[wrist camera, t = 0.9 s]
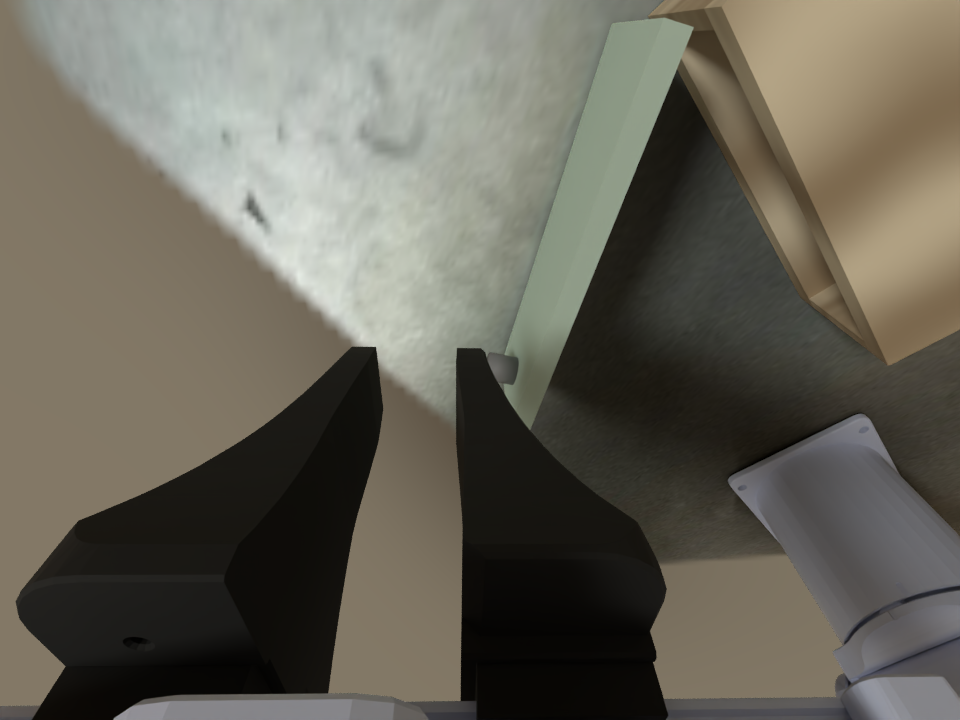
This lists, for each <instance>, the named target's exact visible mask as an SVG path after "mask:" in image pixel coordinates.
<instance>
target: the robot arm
mask: <svg viewBox="0 0 960 720" xmlns="http://www.w3.org/2000/svg"><path fill="white" fill-rule="evenodd" d="M382 414H383V403H382V395H381V387H380V377H379V368H378V360H377V351H376V347H351V348H350V349H349V350H348V351H347V352H346V353H345V354H344V355H343V356H342V357H341V358H340V359H339V360H338V361H337V362H336V363H335V364H334V365H333V366H332V367H331V368H330V369H329V370H328V371H327V372H326V373H325V374H324V375H323V376H322V377H321V378H319V379H318V380H317V381H316V382H315V383H314V384H313V385H312V386H311V387H310V388H309V389H308V390H307V391H306V392H304V394H302V395H301V396H300V397H299V398H297V400H295V401H294V402H293V403H292V404H290V405H289V406H288V407H287V408H286V409H284V410H283V411H282V412H281V413H280V414H278V415H277V416H276V417H274V418H273V419H272V420H270V421H269V422H268V423H266V424H265V425H264V426H262V427H261V428H259V429H258V430H257V431H255V432H254V433H252V434H251V435H249V436H248V437H246V438H245V439H243V440H242V441H240V442H239V443H237V444H235V445H234V446H232V447H230V448H229V449H227V450H225V451H224V452H222V453H220V454H219V455H217V456H215V457H213V458H212V459H210V460H208V461H207V462H205V463H203V464H202V465H200V466H198V467H196V468H194V469H193V470H190V471H189V472H187V473H185V474H183V475H181V476H179V477H177V478H175V479H173V480H171V481H169V482H167V483H165V484H163V485H161V486H159V487H157V488H155V489H152V490H150V491H148V492H146V493H144V494H141V495H139V496H137V497H135V498H133V499H130V500H128V501H125V502H123V503H120V504H118V505H116V506H113V507H111V508H108V509H106V510H104V511H101V512H99V513H97V514H94V515H92V516H89V517H87V518H84V519H82V520H79V521H78V522H77V523H76V524H75V525H74V527H73V528H72V529H71V530H70V531H69V533H68V534H67V535H66V536H65V538H64V539H63V540H62V541H61V543H60V544H59V545H58V546H57V547H56V549H55V550H54V551H53V552H52V553H51V555H50V556H49V557H48V558H47V560H46V561H45V562H44V563H43V565H42V566H41V567H40V568H39V569H38V571H37V572H36V573H35V574H34V576H33V577H32V578H31V579H30V581H29V582H28V583H27V584H26V585H25V587H24V588H23V589H22V590H21V592H20V594H19V596H18V598H17V600H16V605H17V610H18V615H19V618H20V620H21V621H22V623H23V624H24V625H25V626H26V628H27V629H28V630H29V631H30V632H31V633H32V634H33V635H34V636H35V637H36V638H37V639H38V640H39V641H40V642H41V643H42V644H43V645H44V646H45V647H46V648H47V649H48V650H50V652H51V653H53V654H54V655H55V656H56V657H57V658H58V659H59V660H60V661H61V662H62V663H63V664H64V665H65V666H66V667H65V669H64V670H63V672H62V673H61V675H60V676H59V678H58V679H57V681H56V682H55V684H54V686H53V687H52V689H51V690H50V692H49V693H48V695H47V697H46V698H45V700H44V701H43V703H42V704H41V706H0V720H960V536H959V535H958V534H957V533H956V532H955V530H954V529H953V528H952V527H951V526H950V525H949V524H948V523H947V522H946V521H945V520H944V519H943V518H942V517H941V516H940V515H939V514H938V513H937V512H936V511H935V510H934V509H933V508H932V507H931V506H930V505H929V504H928V503H927V502H926V501H925V500H924V499H923V498H922V497H921V496H920V495H919V494H918V493H917V492H916V491H915V490H914V489H913V488H912V487H911V486H910V485H909V484H908V483H907V482H906V481H905V480H904V479H903V478H902V477H901V476H900V474H899V472H898V471H897V469H896V467H895V465H894V463H893V461H892V459H891V458H890V456H889V454H888V452H887V450H886V448H885V446H884V445H883V443H882V441H881V439H880V437H879V435H878V433H877V431H876V430H875V428H874V426H873V424H872V422H871V420H870V419H869V418H868V417H867V416H866V415H865V414H856V415H854V416H851V417H849V418H847V419H845V420H843V421H841V422H839V423H837V424H835V425H833V426H831V427H829V428H827V429H825V430H823V431H821V432H819V433H817V434H815V435H813V436H811V437H809V438H807V439H805V440H803V441H801V442H799V443H796V444H794V445H792V446H790V447H788V448H786V449H784V450H782V451H780V452H778V453H776V454H774V455H772V456H770V457H768V458H766V459H764V460H762V461H760V462H758V463H756V464H754V465H752V466H750V467H748V468H746V469H744V470H741V471H739V472H737V473H735V474H733V475H732V476H730V477H729V479H728V483H729V485H730V487H731V488H732V489H733V490H734V491H735V492H736V494H737V495H738V496H739V497H740V498H741V499H742V500H743V502H744V503H745V504H746V505H747V506H748V507H749V509H750V510H751V511H752V512H753V513H754V514H755V515H756V517H757V518H758V519H759V520H760V521H761V522H762V524H763V525H764V526H765V527H766V528H767V529H768V530H769V532H770V533H771V534H772V535H773V536H774V537H775V539H776V540H777V541H778V542H779V543H780V544H781V546H782V547H783V549H784V551H785V552H786V554H787V556H788V557H789V559H790V560H791V562H792V563H793V565H794V567H795V569H796V570H797V572H798V573H799V575H800V577H801V578H802V580H803V582H804V583H805V585H806V586H807V588H808V590H809V591H810V593H811V594H812V596H813V598H814V599H815V601H816V602H817V604H818V606H819V607H820V609H821V611H822V612H823V614H824V615H825V617H826V619H827V620H828V622H829V623H830V625H831V627H832V629H833V630H834V632H835V633H836V635H837V637H838V638H839V640H840V642H841V643H842V645H843V646H842V647H840V648H838V649H836V650H834V651H833V655H834V656H835V658H836V660H837V661H838V663H839V665H840V666H841V668H842V670H843V671H844V673H843V674H841V675H839V676H838V677H837V679H836V683H835V692H836V697H823V698H822V697H819V698H818V697H814V698H729V699H727V698H720V699H664V698H663V695H662V692H661V688H660V685H659V682H658V678H657V675H656V672H655V668H654V664H653V662H654V661H655V660H656V650H655V646H654V643H653V640H652V637H651V634H650V630H651V628H652V625H653V623H654V621H655V619H656V617H657V615H658V613H659V611H660V608H661V606H662V604H663V602H664V599H665V594H666V585H665V582H664V578H663V576H662V572H661V569H660V566H659V564H658V561H657V559H656V557H655V555H654V553H653V551H652V549H651V547H650V545H649V543H648V541H647V539H646V537H645V535H644V533H643V532H642V530H641V528H640V526H639V524H638V523H637V522H636V521H635V520H634V519H632V518H631V517H629V516H628V515H626V514H625V513H623V512H622V511H620V510H619V509H617V508H616V507H614V506H613V505H612V504H610V503H609V502H607V501H606V500H604V499H603V498H601V497H600V496H598V495H597V494H596V493H595V492H593V491H592V490H591V489H589V488H588V487H587V486H586V485H584V484H583V483H582V482H581V481H579V480H578V479H577V478H576V477H575V476H574V475H573V474H572V473H571V472H570V471H568V470H567V469H566V468H565V467H564V466H563V465H562V464H561V463H560V462H559V461H557V460H556V459H555V458H554V457H553V456H552V454H551V453H550V452H549V451H548V450H547V449H546V448H545V447H544V446H543V445H542V444H541V443H540V442H539V440H538V439H537V438H536V437H535V436H534V435H533V433H532V432H531V431H530V430H529V428H528V427H527V426H526V425H525V423H524V422H523V421H522V419H521V418H520V417H519V415H518V414H517V412H516V411H515V410H514V408H513V407H512V405H511V404H510V402H509V400H508V399H507V397H506V396H505V394H504V392H503V390H502V389H501V387H500V385H499V384H498V382H497V380H496V378H495V376H494V374H493V372H492V370H491V368H490V365H489V363H488V361H487V358H486V354H485V352H484V351H483V350H482V349H481V348H457V358H456V445H457V458H458V470H459V483H460V495H461V507H462V521H463V522H462V523H463V548H462V549H463V550H462V632H461V701H436V702H435V701H434V702H404V701H401V700H399V699H396V698H394V697H388V696H378V695H368V694H358V693H339V694H338V693H335V694H334V693H329V694H328V690H329V682H330V675H331V667H332V660H333V652H334V646H335V639H336V632H337V626H338V619H339V612H340V606H341V599H342V593H343V587H344V581H345V574H346V569H347V563H348V557H349V552H350V546H351V541H352V535H353V531H354V527H355V523H356V518H357V515H358V511H359V508H360V504H361V500H362V497H363V494H364V490H365V487H366V484H367V480H368V477H369V473H370V470H371V466H372V463H373V459H374V456H375V452H376V449H377V445H378V440H379V434H380V428H381V421H382Z"/></svg>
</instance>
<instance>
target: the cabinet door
mask: <svg viewBox="0 0 960 720" xmlns="http://www.w3.org/2000/svg"><path fill="white" fill-rule="evenodd" d="M693 28H694V27H692V26H689V25H686V24H683V23H679V22H676V21H673V20H670V19H667V18H656V19H647V20H638V21H629V22H620V23H612V25H611V28H610V32H609V35H608V38H607V41H606V44H605V47H604V50H603V53H602V56H601V59H600V62H599V65H598V68H597V71H596V75H595V78H594V81H593V84H592V87H591V90H590V93H589V96H588V99H587V102H586V105H585V108H584V111H583V115H582V118H581V121H580V124H579V127H578V130H577V133H576V136H575V139H574V142H573V145H572V148H571V151H570V154H569V158H568V161H567V164H566V167H565V170H564V173H563V176H562V179H561V182H560V185H559V188H558V191H557V194H556V197H555V201H554V204H553V207H552V210H551V213H550V216H549V219H548V222H547V225H546V228H545V231H544V234H543V237H542V240H541V244H540V247H539V250H538V253H537V256H536V259H535V262H534V265H533V268H532V271H531V274H530V277H529V280H528V283H527V287H526V290H525V293H524V296H523V299H522V302H521V305H520V308H519V311H518V314H517V317H516V320H515V323H514V326H513V330H512V333H511V336H510V339H509V342H508V345H507V348H506V351H505V354H504V355H502V354H497V353H491V352H489V354H488V356H487V361H488V363H489V365H490V368H491V370H492V372H493V374H494V376H495V378H496V380H497V382H498V383H504V390H505V396H506V397H507V399H508V400H509V402H510V404H511V405H512V407H513V408H514V410H515V411H516V412H517V414H518V415H519V417H520V418H521V419H522V421H523V422H524V423H525V425H526V426H527V427H528V428H529V430H530V429H531V427H532V424H533V422H534V419H535V417H536V414H537V412H538V409H539V407H540V404H541V402H542V399H543V397H544V395H545V392H546V390H547V387H548V385H549V382H550V380H551V377H552V375H553V372H554V370H555V368H556V365H557V363H558V360H559V358H560V355H561V353H562V350H563V348H564V345H565V343H566V340H567V338H568V336H569V333H570V331H571V328H572V326H573V323H574V321H575V318H576V316H577V313H578V311H579V309H580V306H581V304H582V301H583V299H584V296H585V294H586V291H587V289H588V286H589V284H590V281H591V279H592V277H593V274H594V272H595V269H596V267H597V264H598V262H599V259H600V257H601V254H602V252H603V250H604V247H605V245H606V242H607V240H608V237H609V235H610V232H611V230H612V227H613V225H614V222H615V220H616V218H617V215H618V213H619V210H620V208H621V205H622V203H623V200H624V198H625V195H626V193H627V191H628V188H629V186H630V183H631V181H632V178H633V176H634V173H635V171H636V168H637V166H638V163H639V161H640V159H641V156H642V154H643V151H644V149H645V146H646V144H647V141H648V139H649V136H650V134H651V132H652V129H653V127H654V124H655V122H656V119H657V117H658V114H659V112H660V109H661V107H662V104H663V102H664V100H665V97H666V95H667V92H668V90H669V87H670V85H671V82H672V80H673V77H674V75H675V73H676V70H677V68H678V65H679V63H680V60H681V58H682V55H683V53H684V50H685V48H686V45H687V43H688V41H689V38H690V36H691V33H692V31H693Z"/></svg>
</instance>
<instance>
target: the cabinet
mask: <svg viewBox="0 0 960 720" xmlns="http://www.w3.org/2000/svg"><path fill="white" fill-rule="evenodd" d="M648 17H649V19H656V18H667V19H670V20H673V21H676V22H679V23H683V24H686V25H689V26H692V27H694V28H693V31H692V33H691V36H690V38H689V41H688V43H687V45H686V48H685V50H684V53H683V55H682V58H681V60H680V63H679V65H678V68H677V70H678V72H679V74H680V76H681V78H682V80H683V82H684V83H685V85H686V87H687V89H688V91H689V93H690V94H691V96H692V98H693V100H694V102H695V104H696V106H697V107H698V109H699V111H700V113H701V115H702V117H703V118H704V120H705V122H706V124H707V126H708V128H709V129H710V131H711V133H712V135H713V137H714V139H715V141H716V142H717V144H718V146H719V148H720V150H721V152H722V153H723V155H724V157H725V159H726V161H727V163H728V165H729V166H730V168H731V170H732V172H733V174H734V176H735V177H736V179H737V181H738V183H739V185H740V187H741V189H742V190H743V192H744V194H745V196H746V198H747V200H748V201H749V203H750V205H751V207H752V209H753V211H754V213H755V214H756V216H757V218H758V220H759V222H760V224H761V225H762V227H763V229H764V231H765V233H766V235H767V237H768V238H769V240H770V242H771V244H772V246H773V248H774V249H775V251H776V253H777V255H778V257H779V259H780V261H781V262H782V264H783V266H784V268H785V270H786V272H787V273H788V275H789V277H790V279H791V281H792V283H793V285H794V286H795V288H796V290H797V292H798V294H799V296H800V297H801V298H802V299H803V300H804V301H806V302H807V303H808V304H809V305H811V306H812V307H813V308H815V309H816V310H817V311H818V312H820V313H821V314H822V315H824V316H825V317H826V318H827V319H829V320H830V321H831V322H833V323H834V324H835V325H836V326H838V327H839V328H840V329H842V330H843V331H844V332H845V333H847V334H848V335H849V336H851V337H852V338H853V339H854V340H856V341H857V342H858V343H860V344H861V345H862V346H863V347H865V348H866V349H867V350H868V351H870V352H871V353H872V354H874V355H875V356H876V357H877V358H879V359H880V360H881V361H883V362H884V363H885V364H886V365H888V366H889V365H891V364H893V363H895V362H897V361H899V360H901V359H903V358H905V357H907V356H909V355H911V354H913V353H915V352H917V351H919V350H921V349H923V348H924V347H926V346H928V345H930V344H932V343H934V342H936V341H938V340H940V339H942V338H944V337H946V336H948V335H950V334H952V333H954V332H956V331H958V330H959V329H960V0H665V1H663V2H662V3H661V4H660V5H659V6H658V7H657V8H656V9H655V10H654V11H653V12H652V13H651V14H650V15H648Z"/></svg>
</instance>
